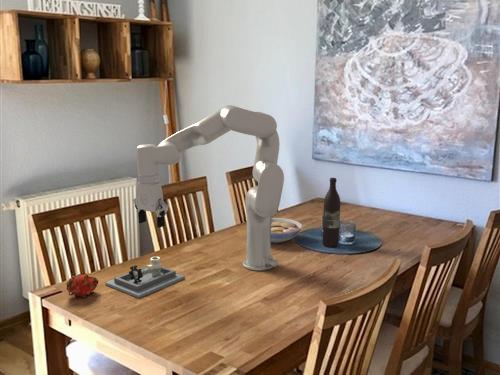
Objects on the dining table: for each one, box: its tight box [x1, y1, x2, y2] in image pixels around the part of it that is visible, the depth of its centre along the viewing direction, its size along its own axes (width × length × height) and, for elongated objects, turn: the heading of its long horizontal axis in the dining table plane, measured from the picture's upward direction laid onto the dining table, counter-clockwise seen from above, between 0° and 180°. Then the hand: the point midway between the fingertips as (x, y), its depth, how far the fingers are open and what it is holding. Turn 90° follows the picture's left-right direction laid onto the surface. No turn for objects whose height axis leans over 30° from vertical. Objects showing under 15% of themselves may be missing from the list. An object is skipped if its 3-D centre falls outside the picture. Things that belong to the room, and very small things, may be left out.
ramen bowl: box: [271, 216, 303, 244], centre depth 244 cm, size 25×23×8 cm
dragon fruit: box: [65, 273, 99, 298], centre depth 186 cm, size 8×8×12 cm
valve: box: [128, 256, 162, 283], centre depth 198 cm, size 7×7×12 cm
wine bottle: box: [321, 177, 341, 248], centre depth 236 cm, size 7×7×30 cm
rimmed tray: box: [104, 265, 186, 299], centre depth 198 cm, size 18×22×3 cm
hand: (151, 224), depth 199 cm, fingers open, 9 cm apart
